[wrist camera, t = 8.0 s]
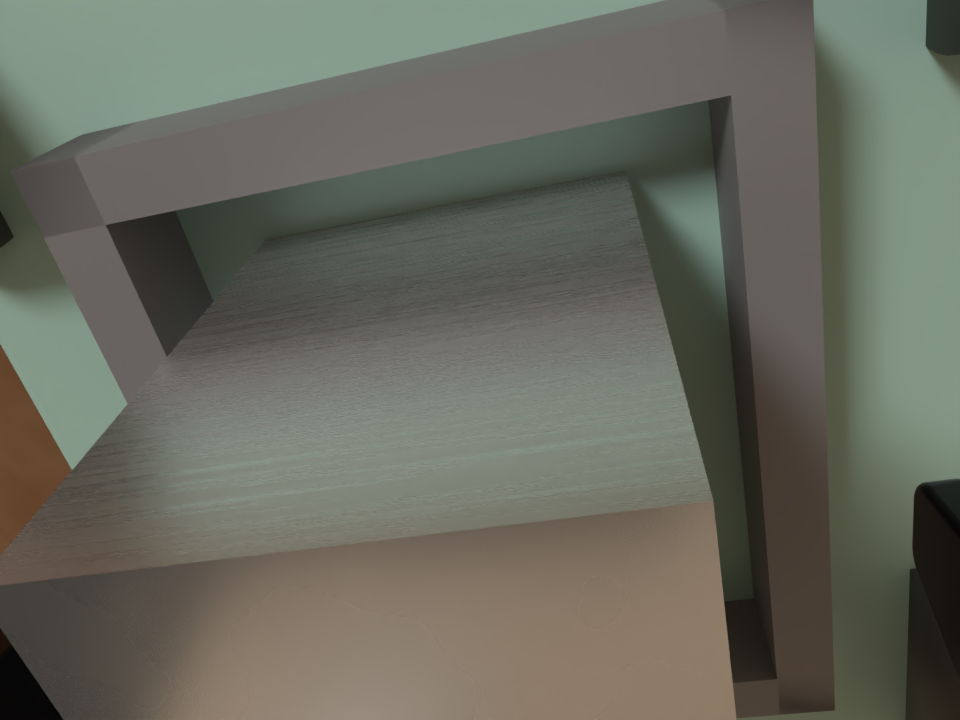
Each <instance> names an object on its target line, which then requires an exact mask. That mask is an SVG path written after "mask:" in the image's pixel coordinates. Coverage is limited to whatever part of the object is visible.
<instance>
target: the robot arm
mask: <svg viewBox="0 0 960 720" xmlns="http://www.w3.org/2000/svg"><path fill="white" fill-rule="evenodd" d="M912 551H913V558H914V563H915V567H916V570H917V573H918V576H919V578H920V581H921V584H922V586H923V589H924V591H925V594H926V596H927V599H928V602H929V604H930V607H931V609H932V612H933V615H934V617H935V620H936V622H937V625H938V628H939V630H940V633H941V635H942V638H943V641H944V643H945V646H946V648H947V651H948V653H949V656H950V659H951V661H952V664H953V666H954V669H955V672H956V674H957V677H958V679H959V682H960V479H959V478H955V479H947V480H939V481H930V482H924V483H921V484H920V485H919V486H917V487H916V490H915V493H914V506H913V537H912ZM0 720H63V718H62V717H61V715H60V714H59V712H58V711H57V709H56V708H55V707H54V705H53V704H52V702H51V701H50V699H49V698H48V696H47V695H46V694H45V692H44V691H43V689H42V688H41V686H40V685H39V683H38V682H37V680H36V679H35V678H34V676H33V675H32V673H31V672H30V670H29V669H28V667H27V666H26V665H25V663H24V662H23V660H22V659H21V657H20V656H19V654H18V653H17V651H16V650H15V649H14V647H13V646H12V644H11V643H10V641H9V640H8V638H7V637H6V636H5V634H4V633H3V631H2V630H1V628H0Z"/></svg>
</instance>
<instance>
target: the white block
mask: <svg viewBox="0 0 960 720" xmlns="http://www.w3.org/2000/svg"><path fill="white" fill-rule="evenodd" d="M0 628H1V630H2V631H3V633H4V634H5V636H6V637H7V638H8V640H9V641H10V643H11V644H12V646H13V647H14V649H15V650H16V651H17V653H18V654H19V656H20V657H21V659H22V660H23V662H24V663H25V665H26V666H27V667H28V669H29V670H30V672H31V673H32V675H33V676H34V678H35V679H36V680H37V682H38V683H39V685H40V686H41V688H42V689H43V691H44V692H45V694H46V695H47V696H48V698H49V699H50V701H51V702H52V704H53V705H54V707H55V708H56V709H57V711H58V712H59V714H60V715H61V717H62V718H63V720H737V719H736V710H735V700H734V691H733V681H732V672H731V662H730V653H729V644H728V634H727V625H726V615H725V606H724V596H723V587H722V577H721V568H720V558H719V549H718V540H717V530H716V521H715V511H714V502H713V497H712V494H711V490H710V486H709V482H708V479H707V475H706V471H705V467H704V464H703V460H702V456H701V452H700V448H699V445H698V441H697V437H696V433H695V430H694V426H693V422H692V418H691V415H690V411H689V407H688V403H687V399H686V396H685V392H684V388H683V384H682V381H681V377H680V373H679V369H678V366H677V362H676V358H675V354H674V351H673V347H672V343H671V339H670V335H669V332H668V328H667V324H666V320H665V317H664V313H663V309H662V305H661V302H660V298H659V294H658V290H657V286H656V283H655V279H654V275H653V271H652V268H651V264H650V260H649V256H648V253H647V249H646V245H645V241H644V237H643V234H642V230H641V226H640V222H639V219H638V215H637V211H636V207H635V204H634V200H633V196H632V192H631V189H630V185H629V181H628V177H627V173H626V171H622V172H616V173H611V174H606V175H601V176H595V177H590V178H585V179H579V180H574V181H569V182H564V183H558V184H553V185H548V186H543V187H537V188H532V189H527V190H521V191H516V192H511V193H506V194H500V195H495V196H490V197H484V198H479V199H474V200H469V201H463V202H458V203H453V204H447V205H442V206H437V207H432V208H426V209H421V210H416V211H410V212H405V213H400V214H395V215H389V216H384V217H379V218H374V219H368V220H363V221H358V222H352V223H347V224H342V225H337V226H331V227H326V228H321V229H315V230H310V231H305V232H300V233H294V234H289V235H284V236H278V237H273V238H268V239H266V240H265V241H264V242H263V243H262V244H261V246H260V247H259V248H258V249H257V250H256V251H255V253H254V254H253V255H252V256H251V257H250V259H249V260H248V261H247V262H246V263H245V265H244V266H243V267H242V268H241V269H240V271H239V272H238V273H237V274H236V275H235V277H234V278H233V279H232V280H231V281H230V283H229V284H228V285H227V286H226V287H225V288H224V290H223V291H222V292H221V293H220V294H219V296H218V297H217V298H216V299H215V300H214V302H213V303H212V304H211V305H210V306H209V308H208V309H207V310H206V311H205V312H204V314H203V315H202V316H201V317H200V318H199V319H198V321H197V322H196V323H195V324H194V325H193V327H192V328H191V329H190V330H189V331H188V333H187V334H186V335H185V336H184V337H183V339H182V340H181V341H180V342H179V343H178V345H177V346H176V347H175V348H174V349H173V351H172V352H171V353H170V354H169V355H168V356H167V358H166V359H165V360H164V361H163V362H162V364H161V365H160V366H159V367H158V368H157V370H156V371H155V372H154V373H153V374H152V376H151V377H150V378H149V379H148V380H147V382H146V383H145V384H144V385H143V386H142V388H141V389H140V390H139V391H138V392H137V393H136V395H135V396H134V397H133V398H132V399H131V401H130V402H129V403H128V404H127V405H126V407H125V408H124V409H123V410H122V411H121V413H120V414H119V415H118V416H117V417H116V419H115V420H114V421H113V422H112V423H111V425H110V426H109V427H108V428H107V429H106V430H105V432H104V433H103V434H102V435H101V436H100V438H99V439H98V440H97V441H96V442H95V444H94V445H93V446H92V447H91V448H90V450H89V451H88V452H87V453H86V454H85V456H84V457H83V458H82V459H81V460H80V462H79V463H78V464H77V465H76V466H75V467H74V469H73V470H72V471H71V472H70V473H69V475H68V476H67V477H66V478H65V479H64V481H63V482H62V483H61V484H60V485H59V487H58V488H57V489H56V490H55V491H54V493H53V494H52V495H51V496H50V497H49V499H48V500H47V501H46V502H45V503H44V504H43V506H42V507H41V508H40V509H39V510H38V512H37V513H36V514H35V515H34V516H33V518H32V519H31V520H30V521H29V522H28V524H27V525H26V526H25V527H24V528H23V530H22V531H21V532H20V533H19V534H18V536H17V537H16V538H15V539H14V540H13V541H12V543H11V544H10V545H9V546H8V547H7V549H6V550H5V551H4V552H3V553H2V555H1V556H0Z"/></svg>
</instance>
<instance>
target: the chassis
mask: <svg viewBox="0 0 960 720" xmlns="http://www.w3.org/2000/svg"><path fill="white" fill-rule="evenodd" d="M622 171H626V173H627V177H628V181H629V185H630V189H631V192H632V196H633V200H634V204H635V207H636V211H637V215H638V219H639V222H640V226H641V230H642V234H643V237H644V241H645V245H646V249H647V253H648V256H649V260H650V264H651V268H652V271H653V275H654V279H655V283H656V286H657V290H658V294H659V298H660V302H661V305H662V309H663V313H664V317H665V320H666V324H667V328H668V332H669V335H670V339H671V343H672V347H673V351H674V354H675V358H676V362H677V366H678V369H679V373H680V377H681V381H682V384H683V388H684V392H685V396H686V399H687V403H688V407H689V411H690V415H691V418H692V422H693V426H694V430H695V433H696V437H697V441H698V445H699V448H700V452H701V456H702V460H703V464H704V467H705V471H706V475H707V479H708V482H709V486H710V490H711V494H712V497H713V502H714V511H715V521H716V530H717V540H718V549H719V558H720V568H721V577H722V587H723V596H724V606H725V615H726V625H727V634H728V644H729V653H730V662H731V672H732V681H733V691H734V700H735V710H736V719H737V720H960V682H959V679H958V677H957V674H956V672H955V669H954V666H953V664H952V661H951V659H950V656H949V653H948V651H947V648H946V646H945V643H944V641H943V638H942V635H941V633H940V630H939V628H938V625H937V622H936V620H935V617H934V615H933V612H932V609H931V607H930V604H929V602H928V599H927V596H926V594H925V591H924V589H923V586H922V584H921V581H920V578H919V576H918V573H917V570H916V567H915V563H914V558H913V551H912V537H913V506H914V493H915V490H916V487H917V486H919V485H920V484H921V483H924V482H930V481H939V480H947V479H955V478H959V479H960V0H0V344H1V346H2V348H3V349H4V351H5V353H6V355H7V357H8V358H9V360H10V362H11V364H12V365H13V367H14V369H15V371H16V372H17V374H18V376H19V378H20V379H21V381H22V383H23V385H24V386H25V388H26V390H27V392H28V393H29V395H30V397H31V399H32V400H33V402H34V404H35V406H36V408H37V409H38V411H39V413H40V415H41V416H42V418H43V420H44V422H45V423H46V425H47V427H48V429H49V430H50V432H51V434H52V436H53V437H54V439H55V441H56V443H57V444H58V446H59V448H60V450H61V451H62V453H63V455H64V457H65V458H66V460H67V462H68V464H69V466H70V467H71V469H72V470H73V469H74V467H75V466H76V465H77V464H78V463H79V462H80V460H81V459H82V458H83V457H84V456H85V454H86V453H87V452H88V451H89V450H90V448H91V447H92V446H93V445H94V444H95V442H96V441H97V440H98V439H99V438H100V436H101V435H102V434H103V433H104V432H105V430H106V429H107V428H108V427H109V426H110V425H111V423H112V422H113V421H114V420H115V419H116V417H117V416H118V415H119V414H120V413H121V411H122V410H123V409H124V408H125V407H126V405H127V404H128V403H129V402H130V401H131V399H132V398H133V397H134V396H135V395H136V393H137V392H138V391H139V390H140V389H141V388H142V386H143V385H144V384H145V383H146V382H147V380H148V379H149V378H150V377H151V376H152V374H153V373H154V372H155V371H156V370H157V368H158V367H159V366H160V365H161V364H162V362H163V361H164V360H165V359H166V358H167V356H168V355H169V354H170V353H171V352H172V351H173V349H174V348H175V347H176V346H177V345H178V343H179V342H180V341H181V340H182V339H183V337H184V336H185V335H186V334H187V333H188V331H189V330H190V329H191V328H192V327H193V325H194V324H195V323H196V322H197V321H198V319H199V318H200V317H201V316H202V315H203V314H204V312H205V311H206V310H207V309H208V308H209V306H210V305H211V304H212V303H213V302H214V300H215V299H216V298H217V297H218V296H219V294H220V293H221V292H222V291H223V290H224V288H225V287H226V286H227V285H228V284H229V283H230V281H231V280H232V279H233V278H234V277H235V275H236V274H237V273H238V272H239V271H240V269H241V268H242V267H243V266H244V265H245V263H246V262H247V261H248V260H249V259H250V257H251V256H252V255H253V254H254V253H255V251H256V250H257V249H258V248H259V247H260V246H261V244H262V243H263V242H264V241H265V240H266V239H268V238H273V237H278V236H284V235H289V234H294V233H300V232H305V231H310V230H315V229H321V228H326V227H331V226H337V225H342V224H347V223H352V222H358V221H363V220H368V219H374V218H379V217H384V216H389V215H395V214H400V213H405V212H410V211H416V210H421V209H426V208H432V207H437V206H442V205H447V204H453V203H458V202H463V201H469V200H474V199H479V198H484V197H490V196H495V195H500V194H506V193H511V192H516V191H521V190H527V189H532V188H537V187H543V186H548V185H553V184H558V183H564V182H569V181H574V180H579V179H585V178H590V177H595V176H601V175H606V174H611V173H616V172H622Z"/></svg>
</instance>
